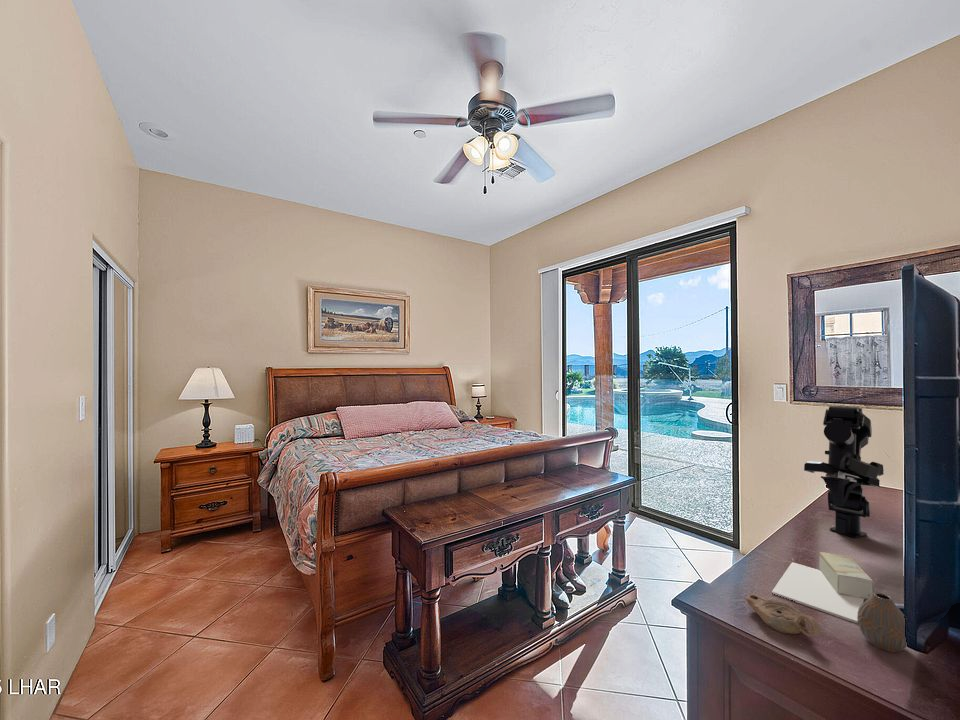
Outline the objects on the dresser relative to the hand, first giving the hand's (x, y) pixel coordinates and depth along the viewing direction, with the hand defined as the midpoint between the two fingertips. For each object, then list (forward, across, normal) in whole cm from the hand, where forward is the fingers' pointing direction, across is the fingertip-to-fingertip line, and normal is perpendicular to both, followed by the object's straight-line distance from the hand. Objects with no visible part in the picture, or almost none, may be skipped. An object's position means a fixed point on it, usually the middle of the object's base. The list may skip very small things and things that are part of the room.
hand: (840, 505), depth 112 cm
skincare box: (+15, -12, -9) cm, 21 cm away
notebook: (+21, -22, -14) cm, 33 cm away
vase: (+26, -27, -31) cm, 48 cm away
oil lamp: (+28, -41, -23) cm, 55 cm away
